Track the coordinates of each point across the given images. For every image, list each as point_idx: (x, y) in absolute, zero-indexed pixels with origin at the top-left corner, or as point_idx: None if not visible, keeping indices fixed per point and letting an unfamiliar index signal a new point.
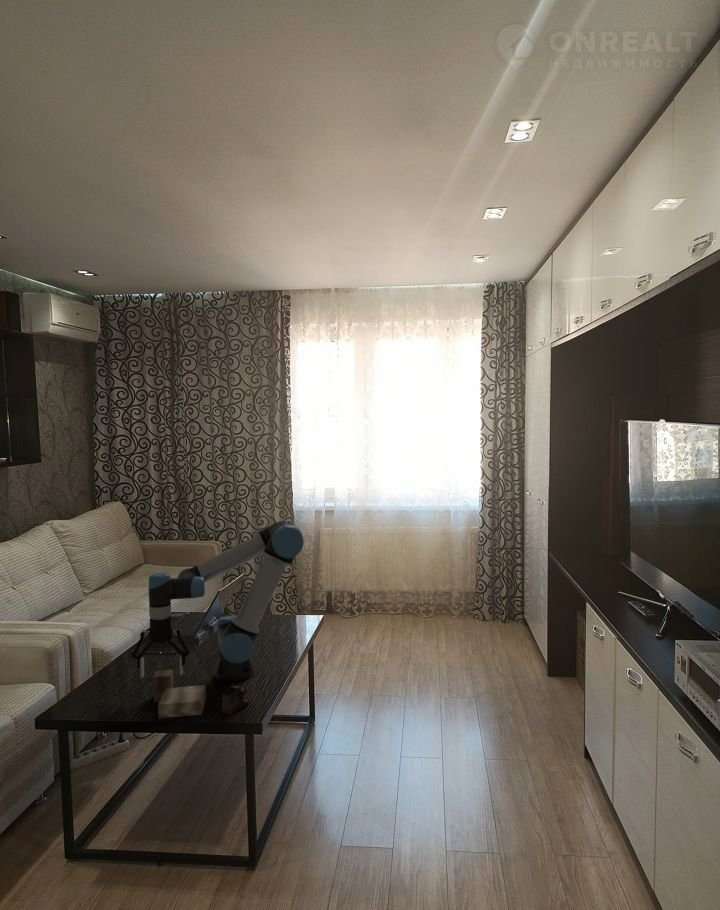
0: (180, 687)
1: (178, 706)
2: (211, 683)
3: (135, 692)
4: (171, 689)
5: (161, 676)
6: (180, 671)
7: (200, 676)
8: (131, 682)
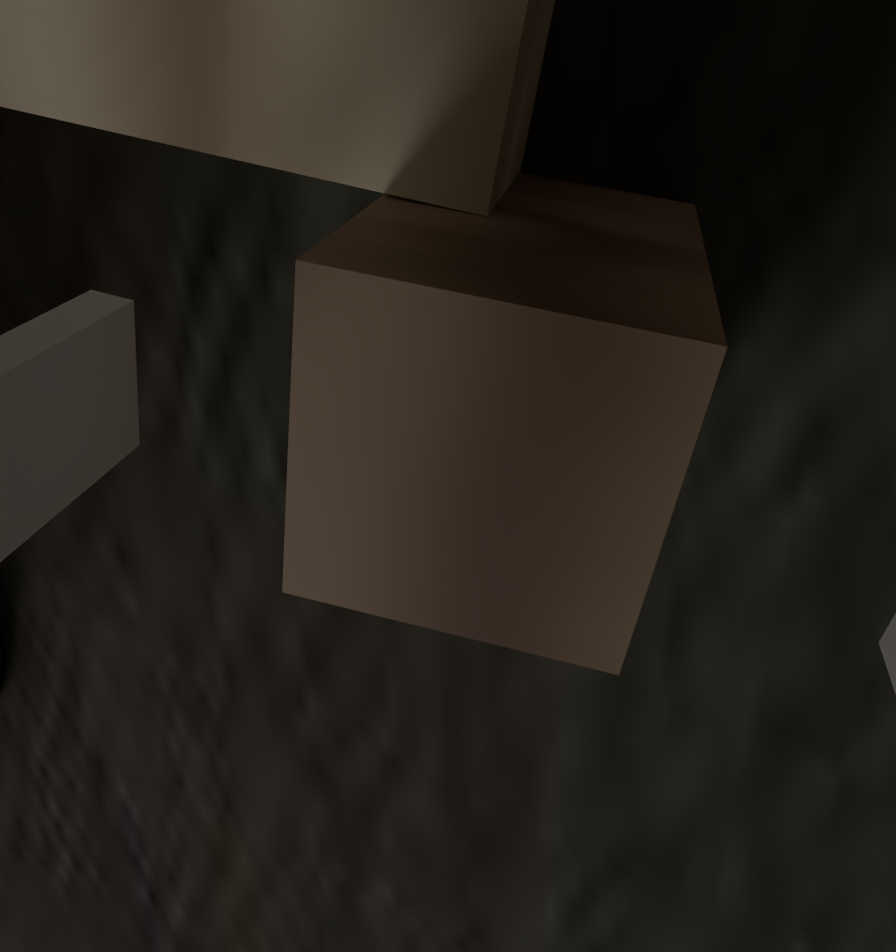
0: (213, 132)
1: None
2: None
3: None
4: (372, 98)
5: (516, 309)
6: (62, 324)
7: (152, 709)
8: (861, 907)
